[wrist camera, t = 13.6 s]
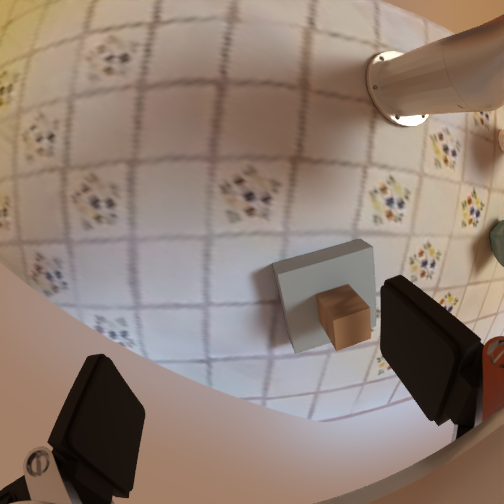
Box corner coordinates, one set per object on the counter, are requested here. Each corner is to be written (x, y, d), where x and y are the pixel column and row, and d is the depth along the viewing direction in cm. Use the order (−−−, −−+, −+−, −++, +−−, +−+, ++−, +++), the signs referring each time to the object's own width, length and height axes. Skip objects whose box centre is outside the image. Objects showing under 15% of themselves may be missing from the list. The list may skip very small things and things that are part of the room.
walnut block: (348, 283, 39) (370, 307, 32) (350, 312, 40) (370, 338, 34) (315, 294, 38) (333, 320, 32) (319, 322, 40) (336, 351, 34)
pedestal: (360, 238, 41) (372, 246, 37) (365, 313, 46) (376, 325, 42) (272, 263, 41) (277, 274, 37) (289, 338, 45) (295, 353, 42)
